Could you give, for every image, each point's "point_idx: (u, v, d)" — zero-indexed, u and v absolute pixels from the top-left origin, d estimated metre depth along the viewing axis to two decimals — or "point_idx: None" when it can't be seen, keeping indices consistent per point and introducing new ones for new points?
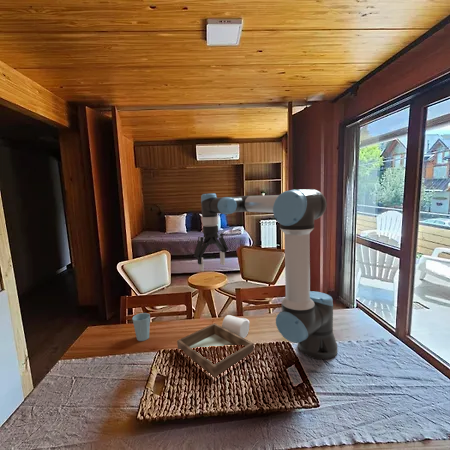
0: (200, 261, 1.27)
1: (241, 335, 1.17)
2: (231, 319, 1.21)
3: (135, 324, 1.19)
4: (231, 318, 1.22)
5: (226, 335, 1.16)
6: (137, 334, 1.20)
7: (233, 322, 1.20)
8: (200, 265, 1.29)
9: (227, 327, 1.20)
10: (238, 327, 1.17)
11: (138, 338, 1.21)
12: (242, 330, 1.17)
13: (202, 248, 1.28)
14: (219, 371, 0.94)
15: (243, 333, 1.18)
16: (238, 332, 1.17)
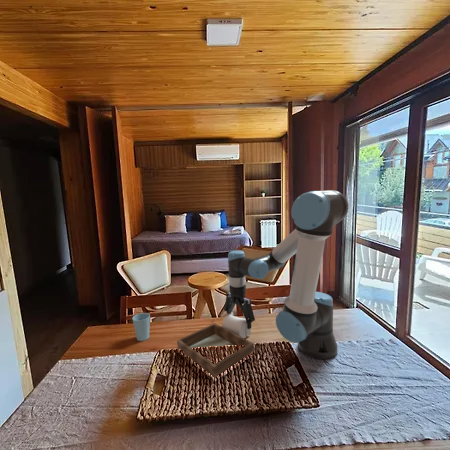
0: None
1: (241, 335, 1.17)
2: (231, 319, 1.21)
3: (135, 324, 1.19)
4: (231, 318, 1.22)
5: (226, 335, 1.16)
6: (137, 334, 1.20)
7: (233, 322, 1.20)
8: None
9: (227, 327, 1.20)
10: (238, 327, 1.17)
11: (138, 338, 1.21)
12: (242, 330, 1.17)
13: None
14: (219, 371, 0.94)
15: (243, 333, 1.18)
16: (238, 332, 1.16)
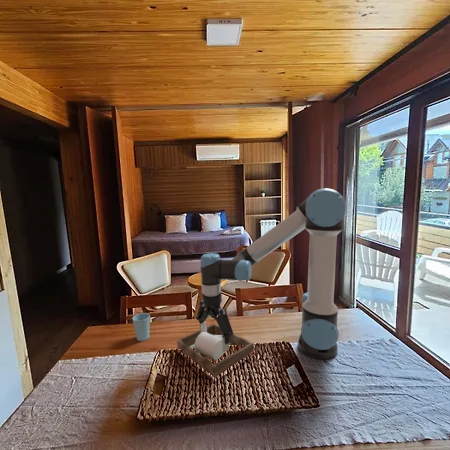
0: None
1: (215, 357, 1.01)
2: (205, 337, 1.05)
3: (135, 324, 1.19)
4: (205, 336, 1.05)
5: None
6: (137, 334, 1.20)
7: (207, 341, 1.03)
8: None
9: (200, 347, 1.04)
10: (212, 348, 1.00)
11: (138, 338, 1.21)
12: (216, 351, 1.01)
13: None
14: (219, 371, 0.94)
15: (218, 354, 1.02)
16: (211, 354, 1.00)
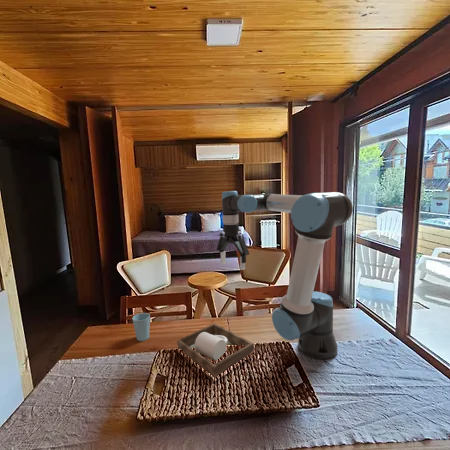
0: (220, 255, 1.35)
1: (215, 357, 1.01)
2: (205, 337, 1.05)
3: (135, 324, 1.19)
4: (205, 336, 1.05)
5: (226, 335, 1.16)
6: (137, 334, 1.20)
7: (207, 341, 1.03)
8: None
9: (200, 347, 1.04)
10: (212, 348, 1.00)
11: (138, 338, 1.21)
12: (216, 351, 1.01)
13: None
14: (219, 371, 0.94)
15: (218, 354, 1.02)
16: (211, 354, 1.00)
